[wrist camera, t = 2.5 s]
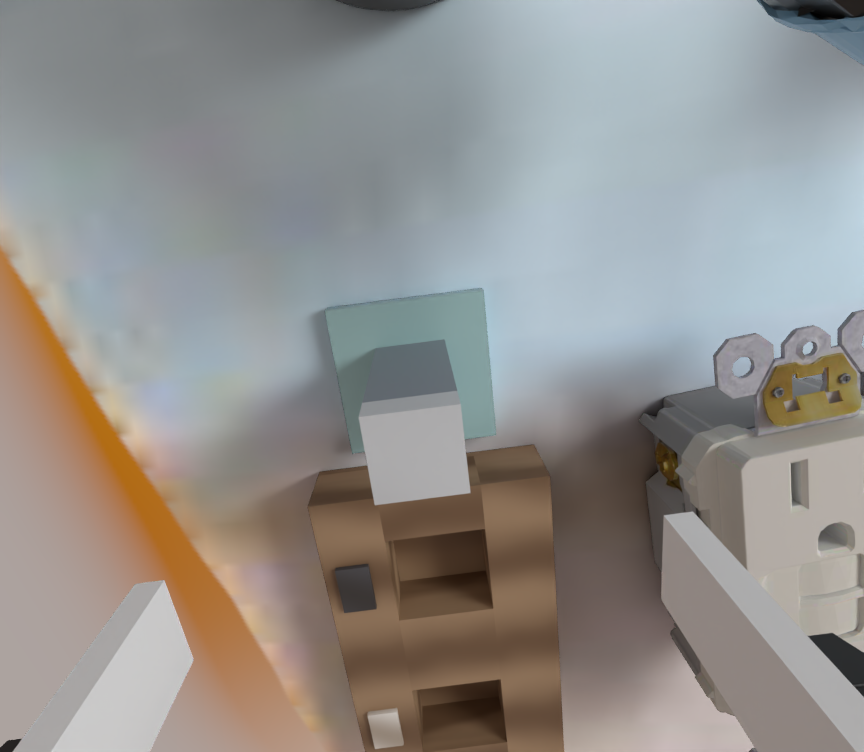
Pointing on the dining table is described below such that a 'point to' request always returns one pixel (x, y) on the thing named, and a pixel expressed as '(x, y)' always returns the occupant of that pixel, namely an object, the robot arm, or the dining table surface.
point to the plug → (413, 425)
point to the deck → (413, 323)
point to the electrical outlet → (774, 476)
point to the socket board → (447, 608)
